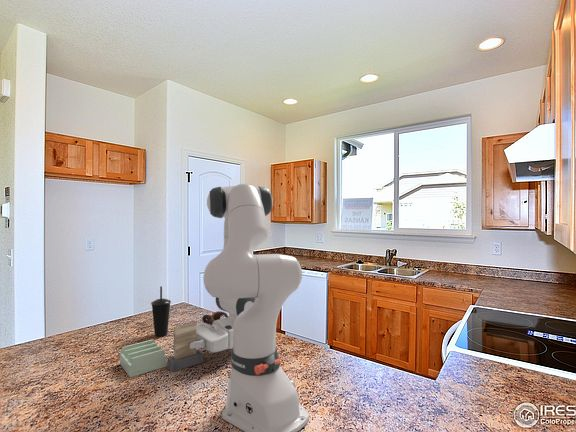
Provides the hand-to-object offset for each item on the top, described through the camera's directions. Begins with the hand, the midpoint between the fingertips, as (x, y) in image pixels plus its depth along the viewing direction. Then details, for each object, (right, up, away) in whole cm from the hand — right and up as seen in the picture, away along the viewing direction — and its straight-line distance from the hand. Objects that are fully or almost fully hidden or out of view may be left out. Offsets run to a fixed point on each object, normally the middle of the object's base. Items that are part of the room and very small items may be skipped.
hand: (184, 342), depth 103 cm
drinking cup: (-18, -8, +26) cm, 33 cm away
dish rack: (-14, -8, 0) cm, 15 cm away
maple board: (0, -8, 0) cm, 8 cm away
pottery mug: (+3, -8, +34) cm, 35 cm away
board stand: (0, -8, 0) cm, 8 cm away
